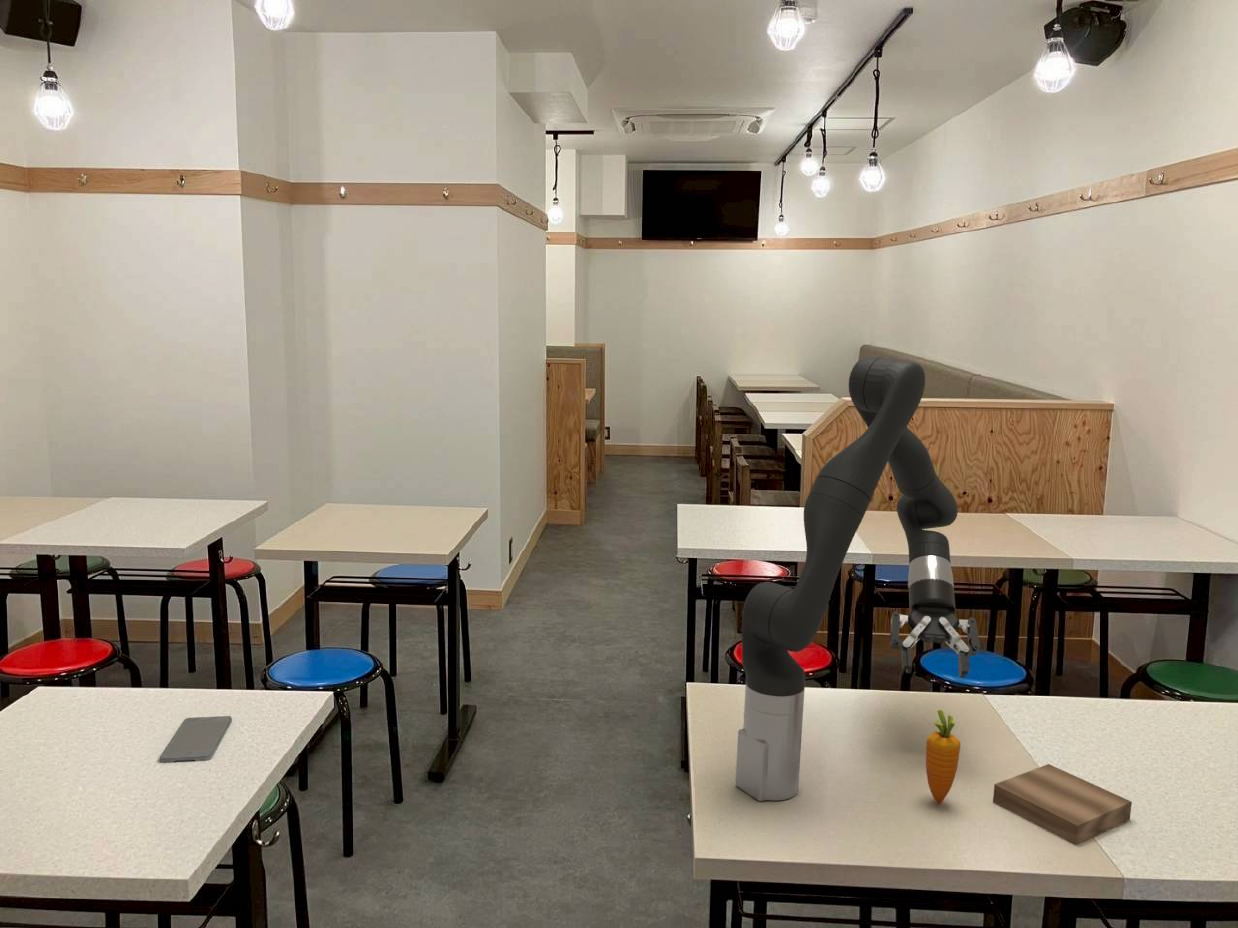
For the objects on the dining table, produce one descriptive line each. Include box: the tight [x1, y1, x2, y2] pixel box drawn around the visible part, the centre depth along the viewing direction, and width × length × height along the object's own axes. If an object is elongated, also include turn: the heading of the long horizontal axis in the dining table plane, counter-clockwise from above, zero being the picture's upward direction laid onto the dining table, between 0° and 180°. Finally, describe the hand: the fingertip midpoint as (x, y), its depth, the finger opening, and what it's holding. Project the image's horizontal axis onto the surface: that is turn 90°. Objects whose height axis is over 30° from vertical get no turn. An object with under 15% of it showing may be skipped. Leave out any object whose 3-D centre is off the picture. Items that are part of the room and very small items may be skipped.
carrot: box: [925, 708, 961, 805], centre depth 147 cm, size 5×5×15 cm
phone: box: [159, 715, 233, 764], centre depth 163 cm, size 8×16×1 cm, turn 10°
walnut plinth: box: [992, 763, 1133, 846], centre depth 147 cm, size 14×14×3 cm
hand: (935, 673), depth 156 cm, fingers open, 8 cm apart
